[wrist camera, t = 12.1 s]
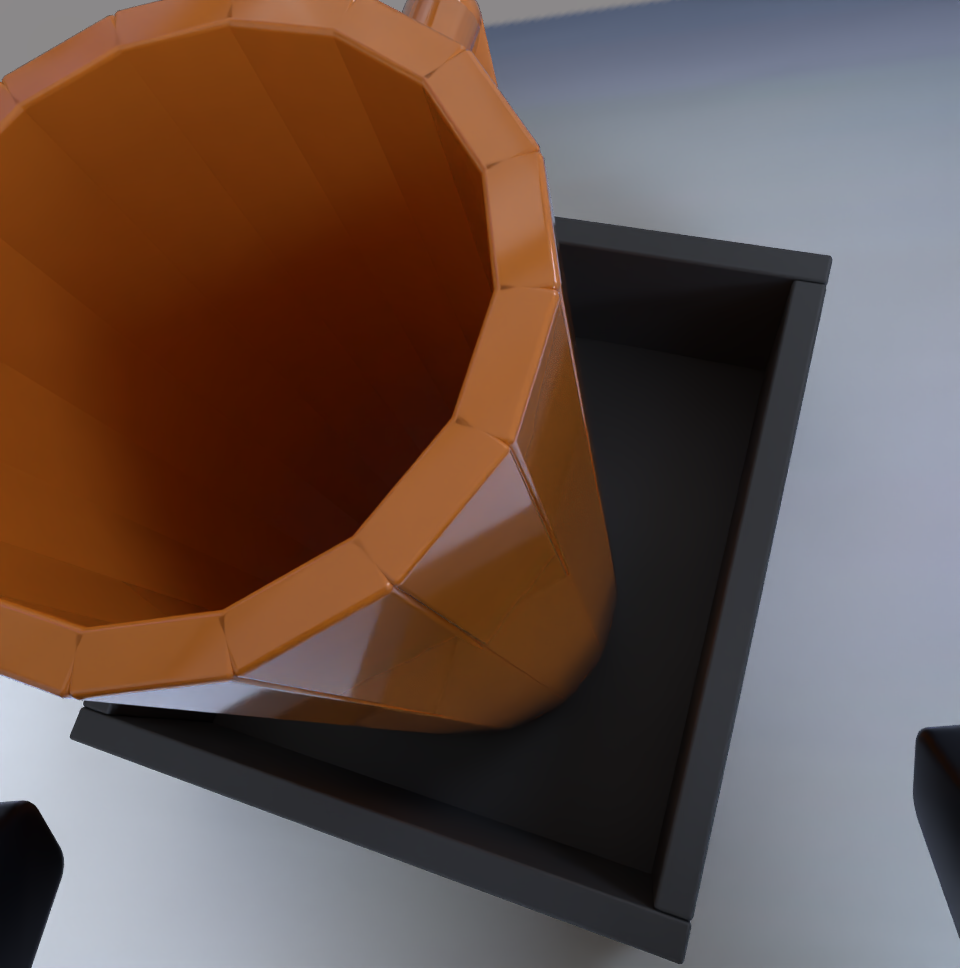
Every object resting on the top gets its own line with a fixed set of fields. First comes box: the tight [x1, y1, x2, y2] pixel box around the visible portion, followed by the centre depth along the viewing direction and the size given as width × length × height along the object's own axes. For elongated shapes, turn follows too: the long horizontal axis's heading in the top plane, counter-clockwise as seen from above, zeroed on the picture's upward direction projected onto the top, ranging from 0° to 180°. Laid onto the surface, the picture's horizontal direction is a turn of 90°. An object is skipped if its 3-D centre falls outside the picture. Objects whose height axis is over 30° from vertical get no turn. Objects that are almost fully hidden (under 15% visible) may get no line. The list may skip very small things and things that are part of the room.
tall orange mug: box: [0, 0, 618, 736], centre depth 13 cm, size 9×6×13 cm
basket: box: [70, 216, 832, 964], centre depth 17 cm, size 12×11×5 cm
